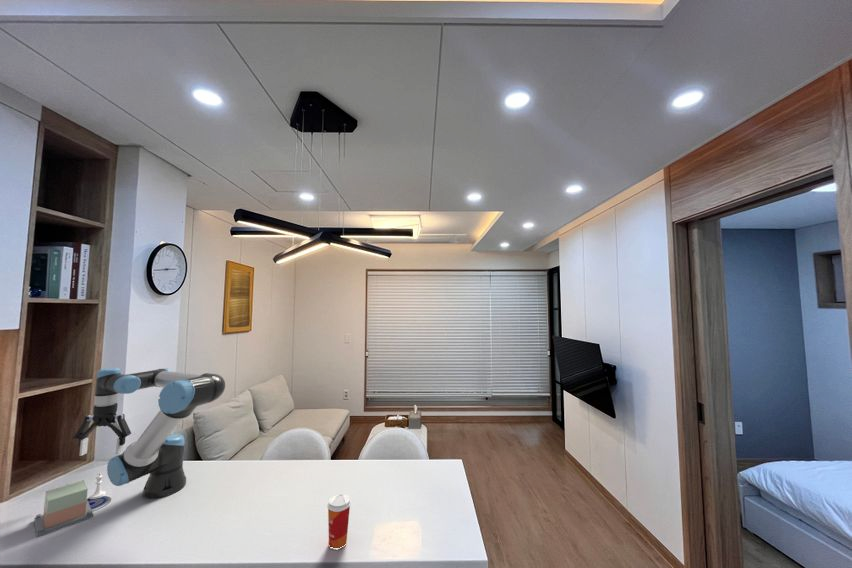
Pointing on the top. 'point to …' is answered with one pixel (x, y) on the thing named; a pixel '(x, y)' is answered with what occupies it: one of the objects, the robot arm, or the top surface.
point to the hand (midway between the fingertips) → (101, 453)
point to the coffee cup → (338, 520)
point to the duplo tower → (63, 508)
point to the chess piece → (98, 488)
